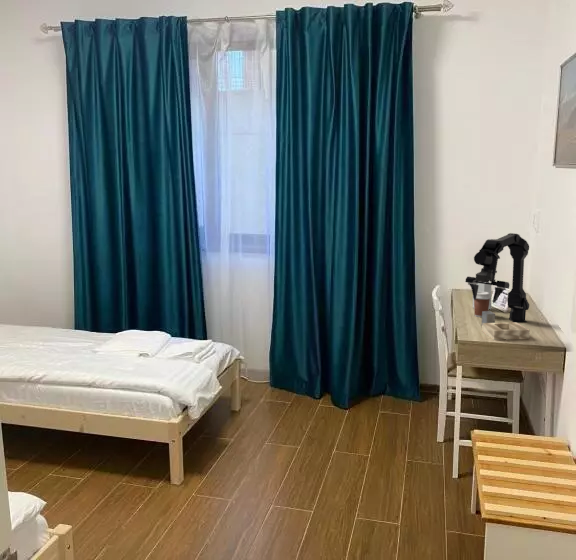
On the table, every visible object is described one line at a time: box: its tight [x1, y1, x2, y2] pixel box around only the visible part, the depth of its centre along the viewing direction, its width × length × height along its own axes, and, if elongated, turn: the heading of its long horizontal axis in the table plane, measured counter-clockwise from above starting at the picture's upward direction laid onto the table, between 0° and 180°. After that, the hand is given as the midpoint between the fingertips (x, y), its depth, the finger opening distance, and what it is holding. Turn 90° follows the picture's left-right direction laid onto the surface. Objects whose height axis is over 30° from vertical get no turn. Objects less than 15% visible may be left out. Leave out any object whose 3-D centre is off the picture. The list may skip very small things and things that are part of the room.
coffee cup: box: [473, 292, 492, 318], centre depth 312 cm, size 9×9×12 cm
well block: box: [481, 321, 531, 341], centre depth 276 cm, size 16×14×4 cm
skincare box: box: [472, 281, 492, 311], centre depth 327 cm, size 8×6×15 cm
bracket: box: [481, 310, 496, 324], centre depth 290 cm, size 4×8×7 cm, turn 4°
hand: (484, 301), depth 277 cm, fingers open, 9 cm apart
